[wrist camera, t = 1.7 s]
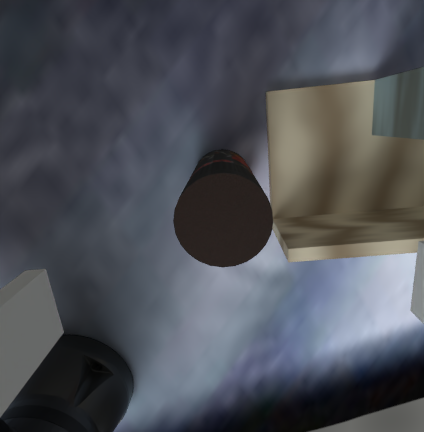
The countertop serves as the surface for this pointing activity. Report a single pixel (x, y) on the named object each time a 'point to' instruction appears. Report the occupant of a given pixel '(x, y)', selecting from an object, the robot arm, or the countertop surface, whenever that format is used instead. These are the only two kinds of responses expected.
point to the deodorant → (223, 212)
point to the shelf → (348, 167)
